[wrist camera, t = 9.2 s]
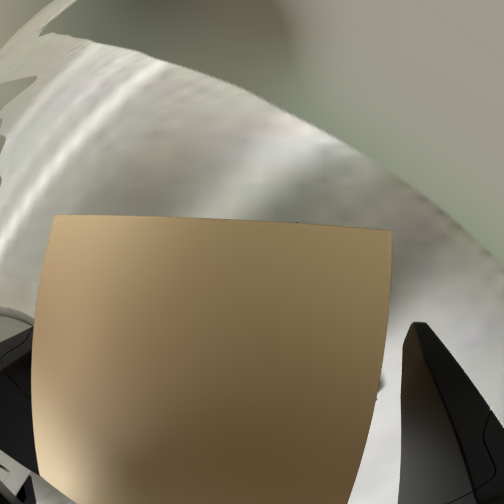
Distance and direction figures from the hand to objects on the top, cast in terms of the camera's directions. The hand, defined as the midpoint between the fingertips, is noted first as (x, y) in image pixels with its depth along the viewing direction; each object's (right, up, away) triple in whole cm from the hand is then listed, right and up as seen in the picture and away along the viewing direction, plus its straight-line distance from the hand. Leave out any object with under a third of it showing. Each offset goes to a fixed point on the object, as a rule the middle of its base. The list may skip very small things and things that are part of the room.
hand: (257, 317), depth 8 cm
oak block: (+1, -3, +7) cm, 8 cm away
